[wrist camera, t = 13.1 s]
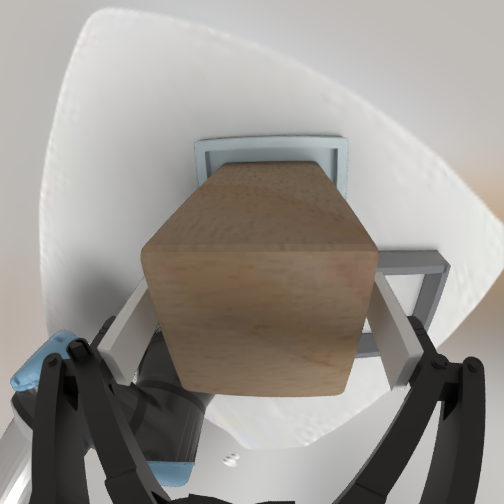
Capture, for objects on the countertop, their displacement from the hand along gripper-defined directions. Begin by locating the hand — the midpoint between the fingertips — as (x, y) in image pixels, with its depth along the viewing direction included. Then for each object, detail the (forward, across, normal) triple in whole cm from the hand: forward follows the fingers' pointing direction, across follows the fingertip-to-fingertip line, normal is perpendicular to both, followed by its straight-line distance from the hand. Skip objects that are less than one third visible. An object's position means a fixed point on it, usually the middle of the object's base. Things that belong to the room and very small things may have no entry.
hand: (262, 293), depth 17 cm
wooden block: (+16, 0, 0) cm, 16 cm away
